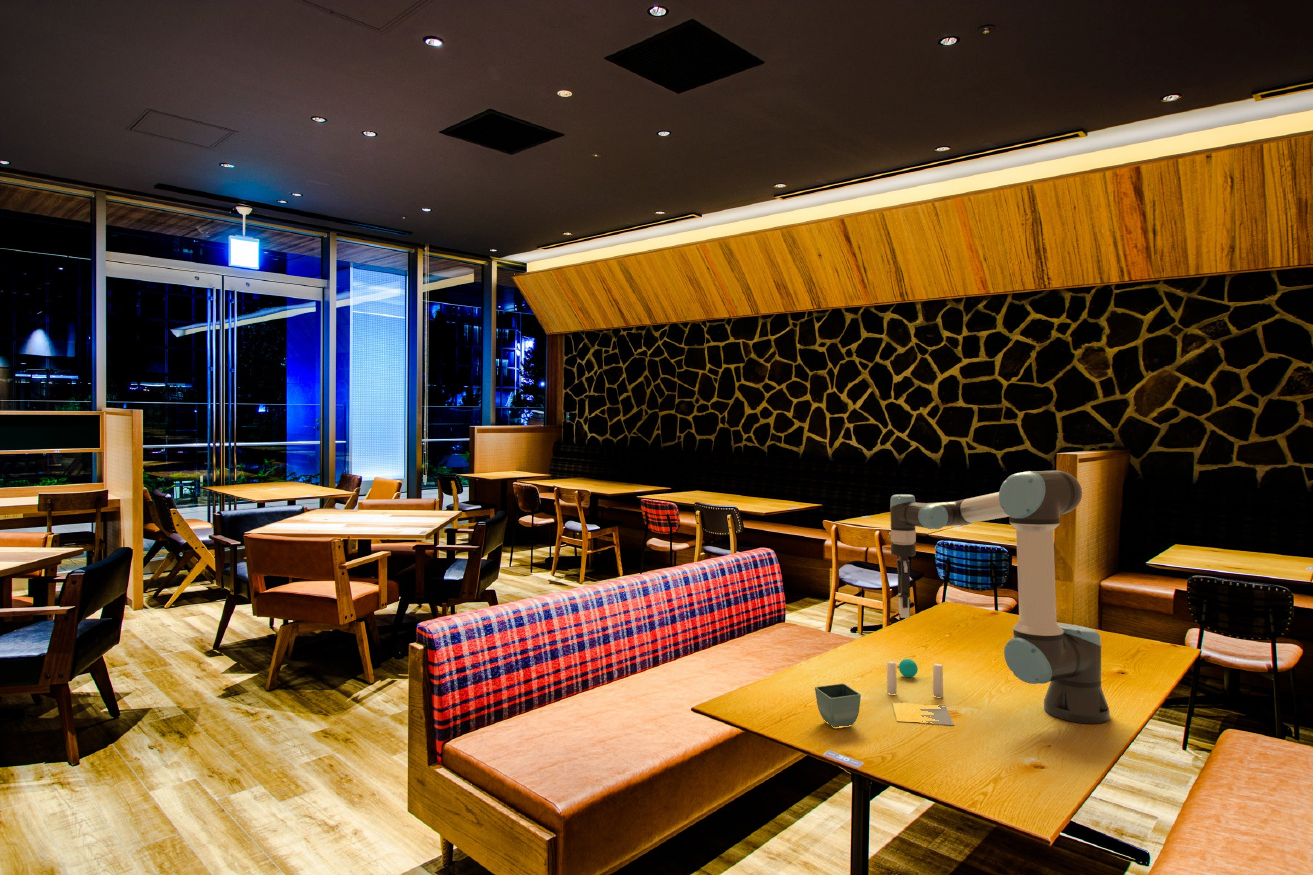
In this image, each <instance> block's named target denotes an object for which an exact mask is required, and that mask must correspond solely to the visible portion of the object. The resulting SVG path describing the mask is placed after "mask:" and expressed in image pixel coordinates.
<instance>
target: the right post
mask: <svg viewBox="0 0 1313 875" xmlns="http://www.w3.org/2000/svg"><path fill="white" fill-rule="evenodd" d="M943 668H944V665H943V664H940V663H933V664H932V684H933V685H932V686H933V687H932V688H933V689H932V690H933V691H932V692H933V693H932V694H933V695H934V696H936V697H943V698H944V671H943V670H944V669H943ZM933 695H932V696H933Z"/></svg>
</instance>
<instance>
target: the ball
mask: <svg viewBox="0 0 1313 875" xmlns="http://www.w3.org/2000/svg"><path fill="white" fill-rule="evenodd" d="M898 671H899V673H900V674H901V675H902V676H903V677H905V678H909V677H910V678H913V677H915V676H916V675H917V674H918V664H917V663H916V662H915V661H914V660H913V659H910V658H904V659H902V660H901V661H900V662H899V663H898Z"/></svg>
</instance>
